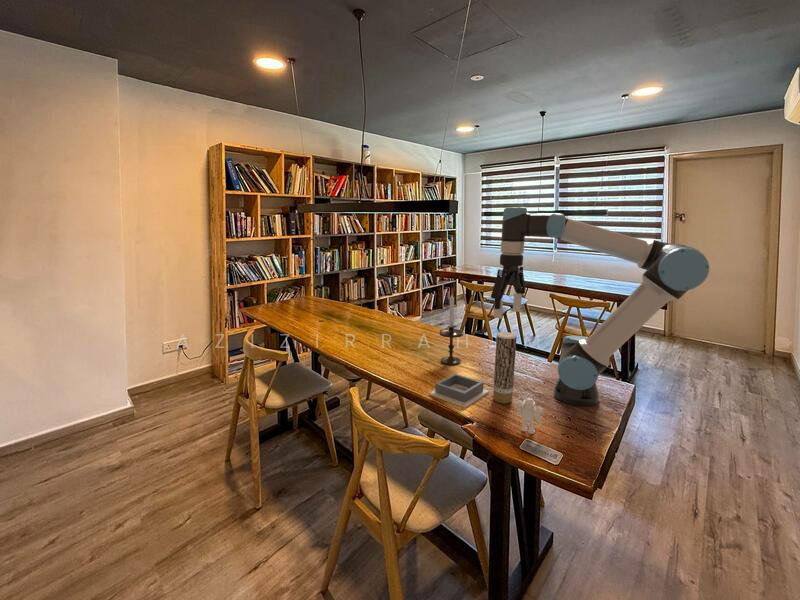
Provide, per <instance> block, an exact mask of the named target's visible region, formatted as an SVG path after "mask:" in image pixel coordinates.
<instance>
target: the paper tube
mask: <svg viewBox="0 0 800 600" xmlns="http://www.w3.org/2000/svg"><path fill="white" fill-rule="evenodd" d="M495 343H496V344H495V358H494V359H495V360H494V372H493V373H494V375H493V393H492V394H493V395H492V398H493V400H494V401H495V402H496V403H499V404H503V405H505V404H510V403H511V402H512V401H513V394H514V393H513V392H514V379H515V366H516V365H515V364H516V351H517V349H516V348H517V334H516V333H514V332H509V331H500V332H496V340H495Z"/></svg>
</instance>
